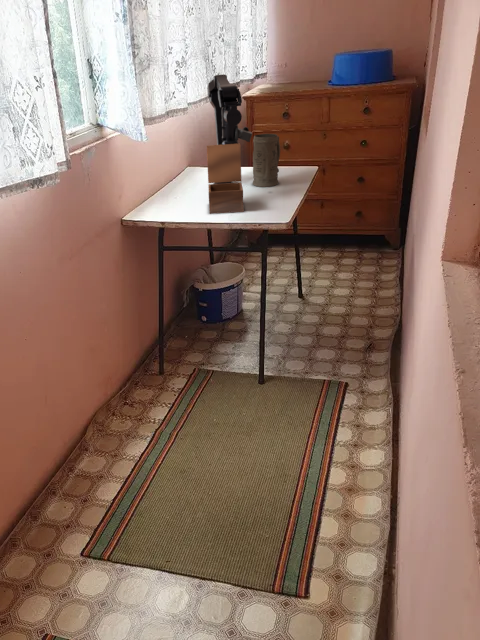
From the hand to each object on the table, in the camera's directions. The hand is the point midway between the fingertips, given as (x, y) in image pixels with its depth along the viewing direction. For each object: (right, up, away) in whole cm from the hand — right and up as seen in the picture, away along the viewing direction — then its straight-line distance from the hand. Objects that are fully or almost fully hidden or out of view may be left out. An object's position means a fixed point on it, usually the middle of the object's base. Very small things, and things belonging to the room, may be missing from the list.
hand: (230, 164), depth 239 cm
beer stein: (+17, 0, +21) cm, 27 cm away
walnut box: (-2, -20, -10) cm, 22 cm away
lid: (-3, -4, -11) cm, 12 cm away
